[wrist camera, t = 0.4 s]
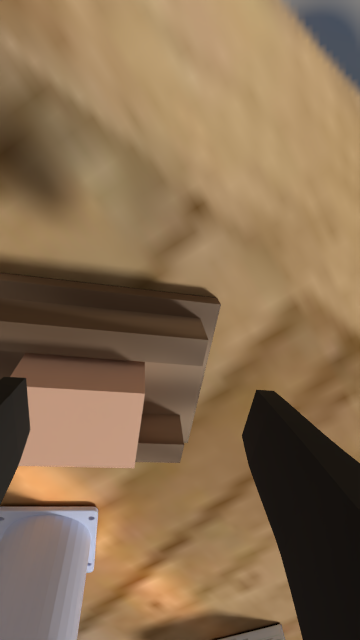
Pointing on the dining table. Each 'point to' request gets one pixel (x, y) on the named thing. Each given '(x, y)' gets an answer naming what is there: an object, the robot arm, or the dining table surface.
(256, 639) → the ink cartridge box
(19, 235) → the dining table surface
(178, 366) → the taupe railed channel
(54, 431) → the terracotta block
